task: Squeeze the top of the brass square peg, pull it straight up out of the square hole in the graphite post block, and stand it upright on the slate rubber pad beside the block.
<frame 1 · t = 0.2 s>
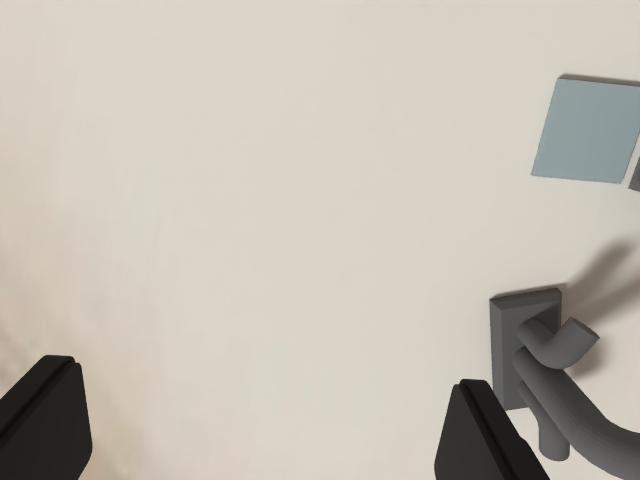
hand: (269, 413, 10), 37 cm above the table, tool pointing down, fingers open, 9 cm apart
faucet: (550, 345, 54), on the table
rubber pad: (588, 133, 44), on the table
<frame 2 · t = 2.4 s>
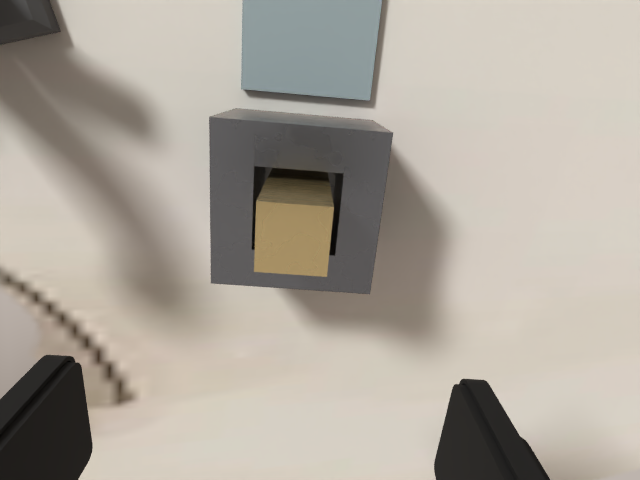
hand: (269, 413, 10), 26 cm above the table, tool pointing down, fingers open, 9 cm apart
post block: (300, 181, 35), on the table
rubber pad: (311, 23, 31), on the table
brass peg: (299, 187, 33), point 2 cm above the table, touching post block
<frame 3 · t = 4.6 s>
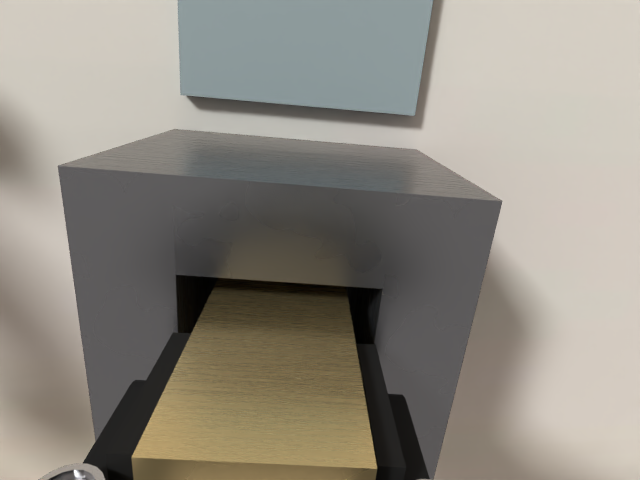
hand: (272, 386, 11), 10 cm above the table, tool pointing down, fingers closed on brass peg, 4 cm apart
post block: (290, 251, 21), on the table
brass peg: (288, 268, 19), point 2 cm above the table, touching gripper, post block
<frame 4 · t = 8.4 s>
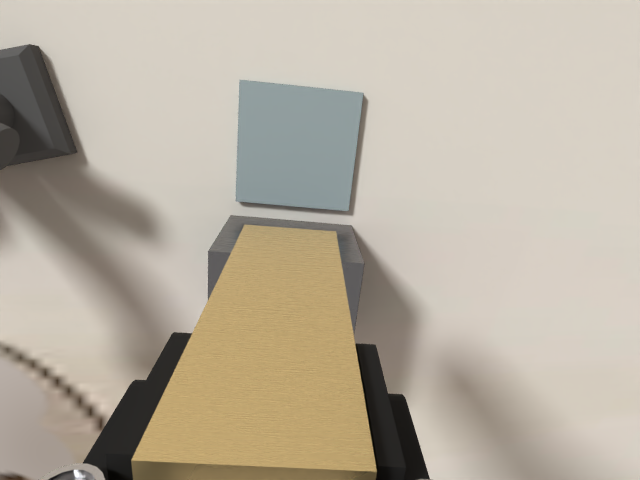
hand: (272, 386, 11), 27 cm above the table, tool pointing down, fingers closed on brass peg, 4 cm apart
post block: (287, 275, 39), on the table
rubber pad: (297, 148, 35), on the table
brass peg: (287, 269, 19), point 19 cm above the table, touching gripper
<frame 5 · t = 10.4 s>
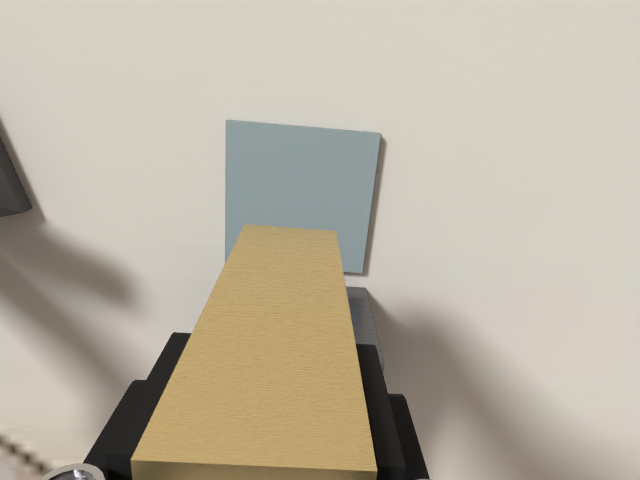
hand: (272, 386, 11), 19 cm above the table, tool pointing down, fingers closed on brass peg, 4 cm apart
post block: (289, 344, 33), on the table
rubber pad: (299, 200, 29), on the table
brass peg: (287, 269, 19), point 11 cm above the table, touching gripper
when the fingers open (10 cm above the table, at t = 12.3 s): brass peg drops 2 cm, resting on rubber pad.
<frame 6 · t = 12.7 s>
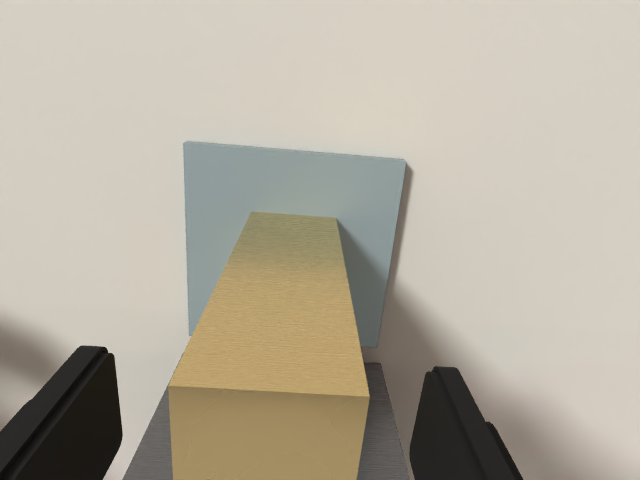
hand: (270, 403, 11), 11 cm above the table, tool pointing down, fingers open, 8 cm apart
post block: (278, 433, 25), on the table
rubber pad: (290, 250, 21), on the table
brass peg: (291, 253, 20), point 1 cm above the table, touching rubber pad
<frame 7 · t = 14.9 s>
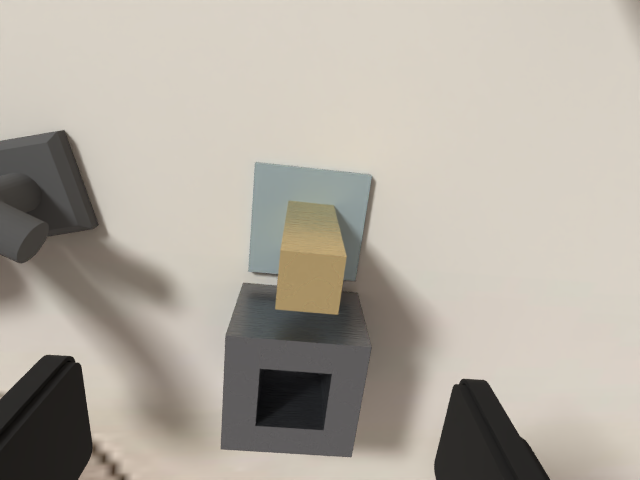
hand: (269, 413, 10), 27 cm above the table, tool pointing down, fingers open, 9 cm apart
faucet: (4, 235, 37), on the table
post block: (295, 337, 41), on the table
rubber pad: (307, 223, 37), on the table
brass peg: (308, 224, 37), point 1 cm above the table, touching rubber pad
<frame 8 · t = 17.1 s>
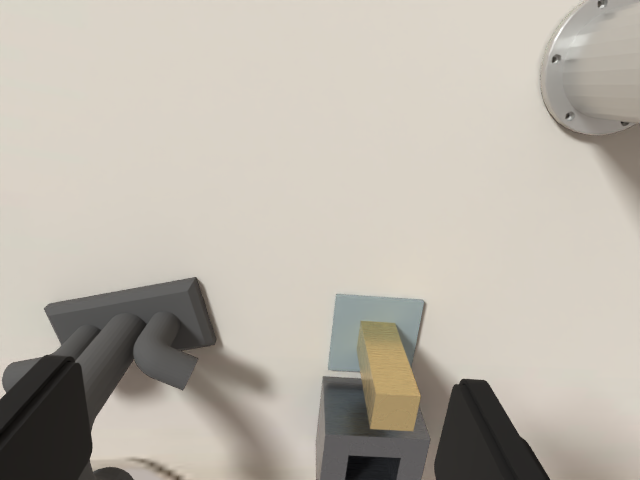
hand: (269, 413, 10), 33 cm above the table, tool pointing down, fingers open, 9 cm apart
faucet: (145, 347, 49), on the table
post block: (361, 413, 53), on the table
rubber pad: (373, 334, 49), on the table
brass peg: (375, 336, 48), point 1 cm above the table, touching rubber pad
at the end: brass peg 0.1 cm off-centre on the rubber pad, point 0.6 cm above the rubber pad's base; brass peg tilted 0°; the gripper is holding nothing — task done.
